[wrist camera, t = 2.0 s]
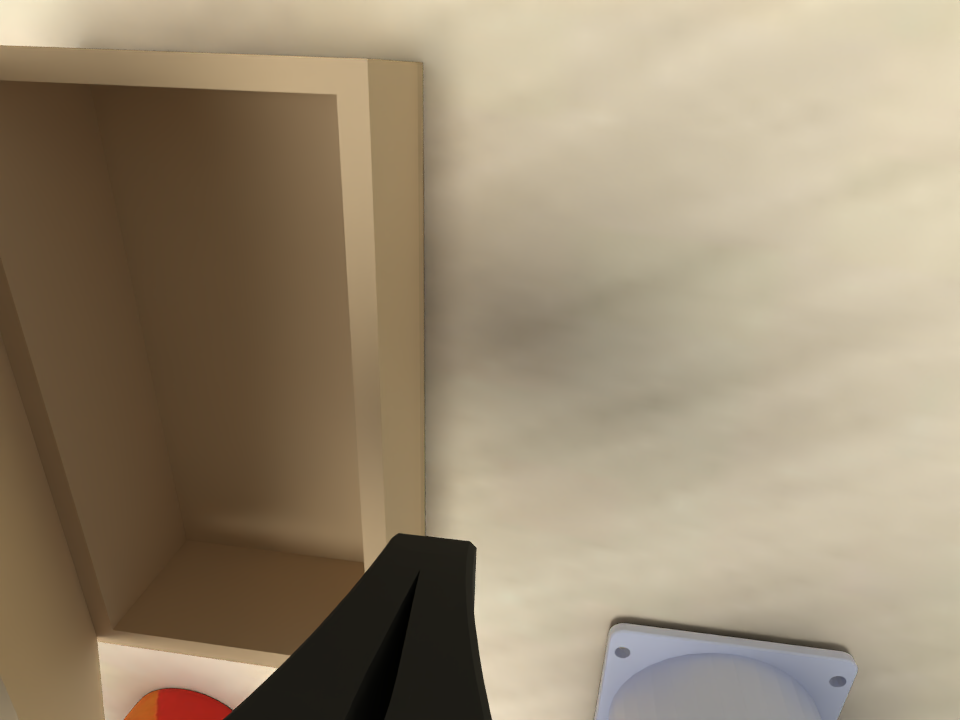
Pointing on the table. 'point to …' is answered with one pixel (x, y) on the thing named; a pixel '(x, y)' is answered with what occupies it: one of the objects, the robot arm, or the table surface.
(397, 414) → the kraft box
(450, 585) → the robot arm
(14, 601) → the lid flap
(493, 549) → the table surface
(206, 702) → the paper cup
